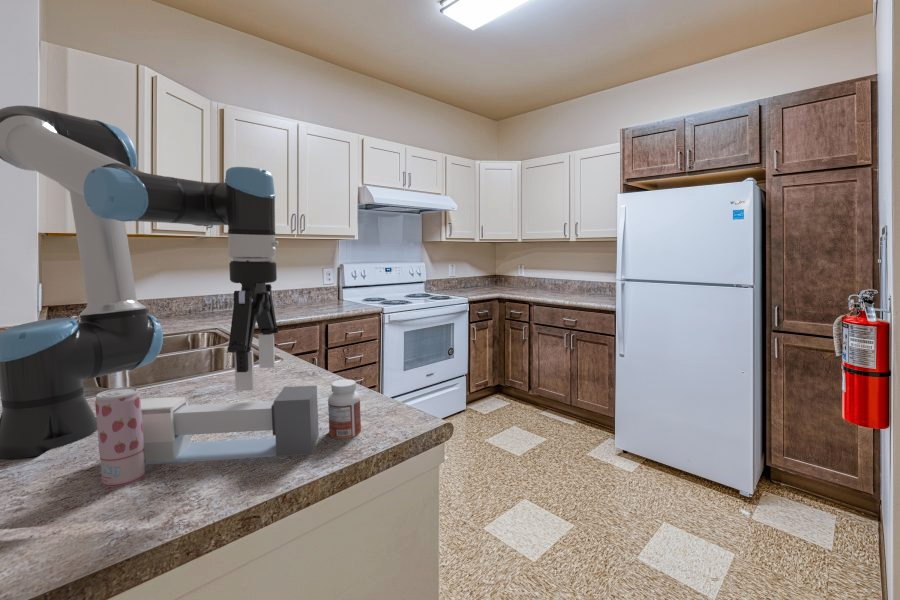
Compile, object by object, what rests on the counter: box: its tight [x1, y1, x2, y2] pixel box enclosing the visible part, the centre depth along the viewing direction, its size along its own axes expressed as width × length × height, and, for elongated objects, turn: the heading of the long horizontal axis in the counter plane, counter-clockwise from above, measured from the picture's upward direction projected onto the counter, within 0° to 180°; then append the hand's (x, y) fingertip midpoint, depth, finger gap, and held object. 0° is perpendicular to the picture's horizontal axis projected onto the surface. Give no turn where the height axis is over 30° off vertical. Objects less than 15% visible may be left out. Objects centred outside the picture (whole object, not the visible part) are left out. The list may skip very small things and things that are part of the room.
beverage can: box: [94, 386, 147, 488], centre depth 69 cm, size 6×6×15 cm
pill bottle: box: [327, 379, 362, 439], centre depth 87 cm, size 6×6×11 cm
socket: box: [273, 385, 320, 457], centre depth 81 cm, size 6×8×10 cm
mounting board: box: [146, 435, 319, 466], centre depth 80 cm, size 32×8×1 cm, turn 98°
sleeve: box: [140, 395, 192, 463], centre depth 77 cm, size 9×7×9 cm
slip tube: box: [173, 400, 275, 436], centre depth 79 cm, size 24×5×5 cm, turn 98°
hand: (257, 377), depth 79 cm, fingers open, 13 cm apart
